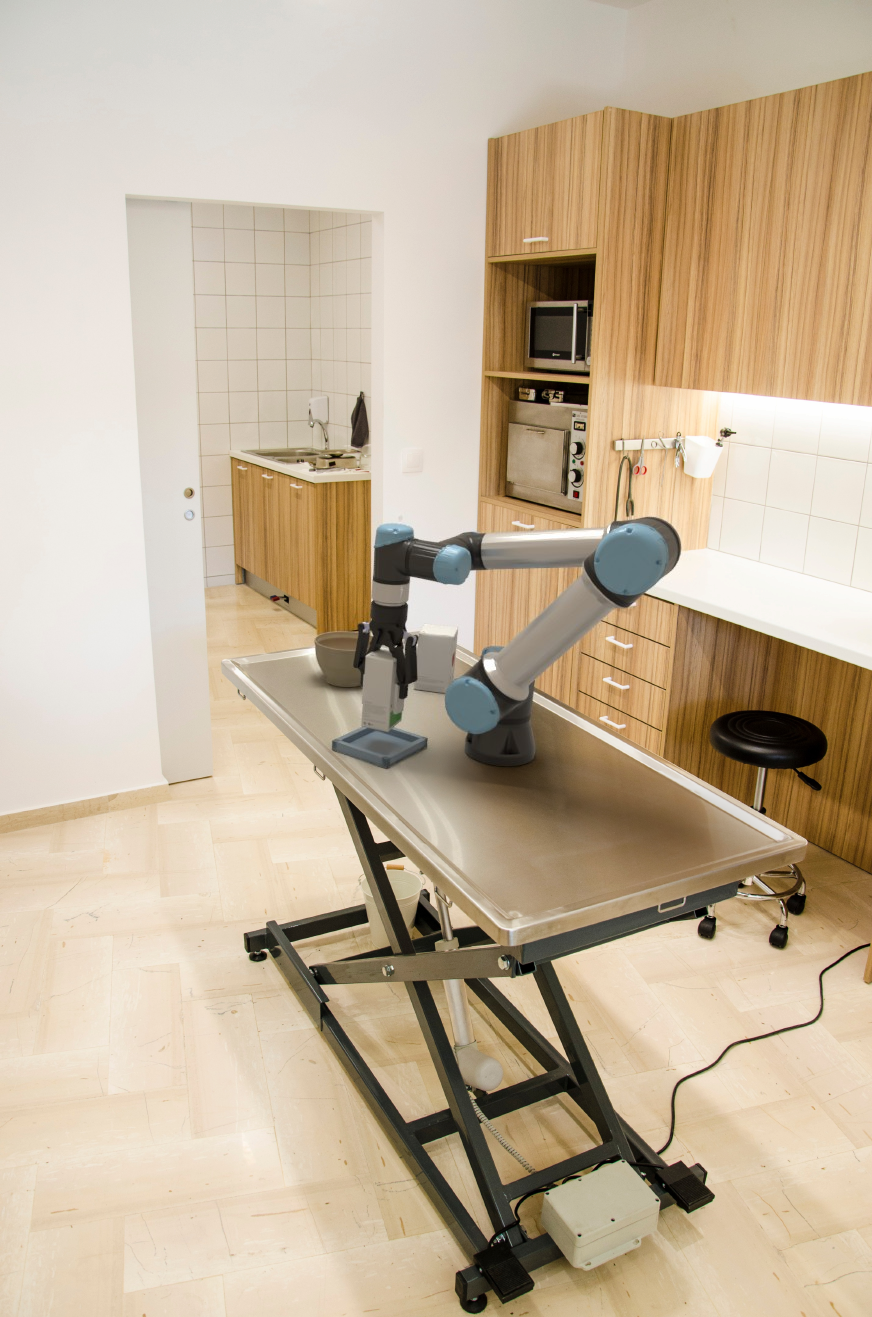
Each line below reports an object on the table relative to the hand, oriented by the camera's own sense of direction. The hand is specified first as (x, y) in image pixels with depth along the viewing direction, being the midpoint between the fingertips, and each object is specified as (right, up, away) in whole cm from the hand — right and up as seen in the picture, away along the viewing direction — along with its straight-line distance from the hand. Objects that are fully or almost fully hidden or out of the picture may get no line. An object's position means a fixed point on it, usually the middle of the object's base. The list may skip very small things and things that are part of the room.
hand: (382, 707), depth 206 cm
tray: (-1, -9, +3) cm, 9 cm away
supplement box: (+11, +3, +43) cm, 44 cm away
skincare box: (0, -4, +1) cm, 4 cm away
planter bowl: (-12, +4, +41) cm, 43 cm away
